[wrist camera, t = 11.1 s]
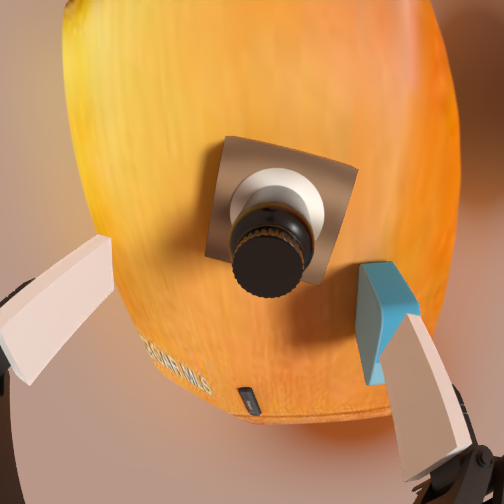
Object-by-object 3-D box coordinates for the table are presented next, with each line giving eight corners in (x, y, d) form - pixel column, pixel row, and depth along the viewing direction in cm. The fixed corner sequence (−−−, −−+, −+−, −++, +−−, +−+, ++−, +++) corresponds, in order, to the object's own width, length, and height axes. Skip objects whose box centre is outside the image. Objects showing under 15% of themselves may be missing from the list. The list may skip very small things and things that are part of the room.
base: (233, 136, 30) (224, 136, 26) (350, 165, 29) (359, 170, 25) (213, 243, 36) (204, 257, 32) (317, 269, 35) (320, 286, 31)
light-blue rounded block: (381, 327, 38) (400, 386, 27) (354, 330, 39) (366, 391, 28) (390, 256, 33) (423, 309, 22) (358, 259, 34) (382, 314, 23)
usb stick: (238, 385, 48) (237, 391, 46) (252, 385, 47) (250, 391, 46) (250, 411, 51) (249, 416, 50) (262, 410, 51) (261, 416, 49)
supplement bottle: (272, 257, 31) (258, 326, 20) (231, 210, 29) (194, 259, 18) (322, 221, 28) (338, 278, 17) (281, 170, 27) (273, 195, 16)
